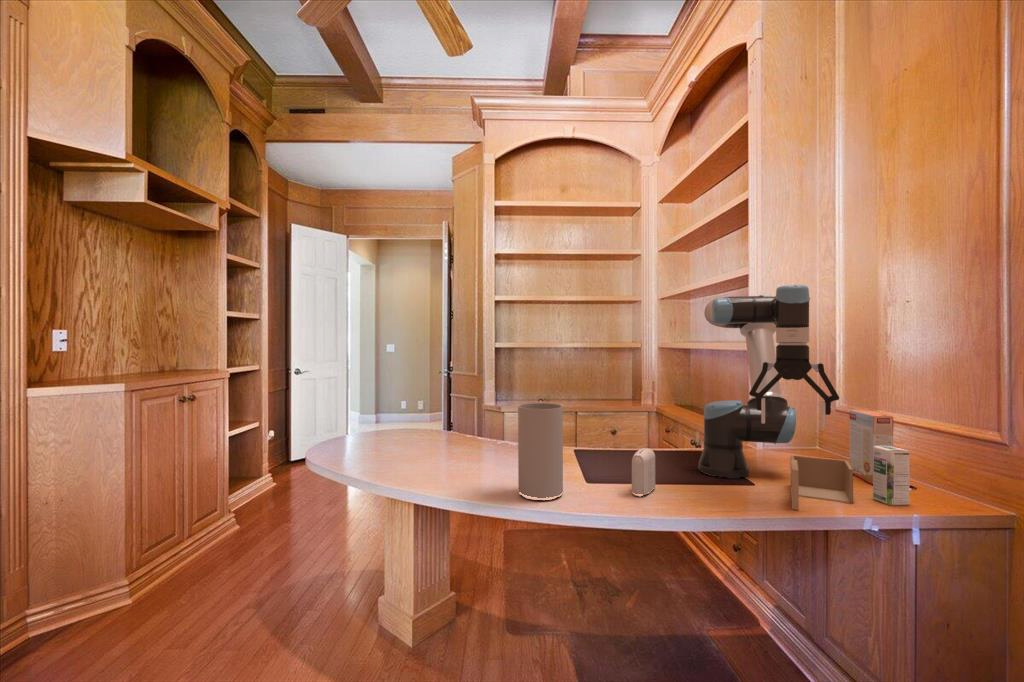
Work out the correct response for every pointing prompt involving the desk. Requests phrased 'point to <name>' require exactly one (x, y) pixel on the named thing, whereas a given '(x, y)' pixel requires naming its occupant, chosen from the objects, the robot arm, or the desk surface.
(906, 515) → the desk surface
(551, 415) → the cylinder vase
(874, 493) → the syrup box
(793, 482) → the flap
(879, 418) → the cracker box
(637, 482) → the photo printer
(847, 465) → the carton
